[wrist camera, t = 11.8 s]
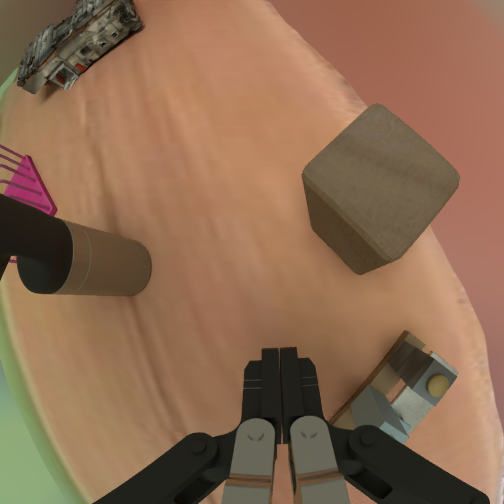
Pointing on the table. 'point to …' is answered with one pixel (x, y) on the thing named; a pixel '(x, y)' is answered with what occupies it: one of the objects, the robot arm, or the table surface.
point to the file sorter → (27, 186)
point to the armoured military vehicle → (76, 43)
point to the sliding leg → (378, 414)
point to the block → (376, 189)
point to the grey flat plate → (415, 401)
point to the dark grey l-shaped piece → (402, 376)
